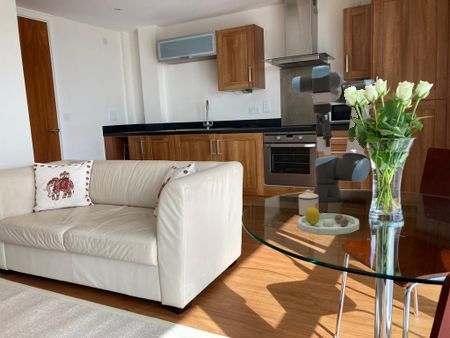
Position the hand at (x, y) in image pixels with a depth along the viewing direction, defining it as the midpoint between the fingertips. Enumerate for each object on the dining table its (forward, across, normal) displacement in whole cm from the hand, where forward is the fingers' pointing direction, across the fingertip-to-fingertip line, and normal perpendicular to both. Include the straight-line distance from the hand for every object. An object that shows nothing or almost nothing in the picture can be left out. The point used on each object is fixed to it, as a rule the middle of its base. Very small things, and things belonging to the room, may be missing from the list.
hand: (323, 153), depth 158 cm
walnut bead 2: (+27, +21, +2) cm, 34 cm away
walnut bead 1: (+27, +16, +2) cm, 31 cm away
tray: (+28, +19, -4) cm, 34 cm away
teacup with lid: (+28, -3, -7) cm, 29 cm away
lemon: (+27, +19, -10) cm, 34 cm away
